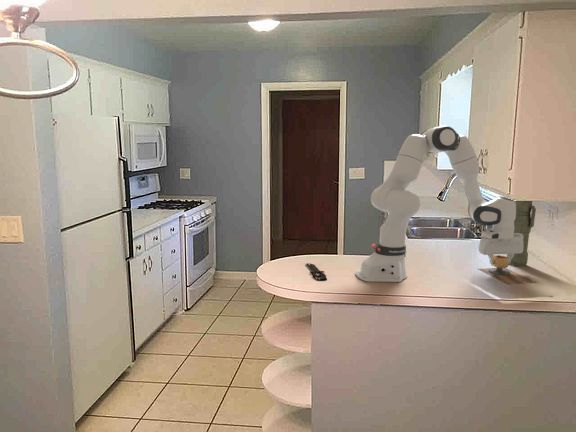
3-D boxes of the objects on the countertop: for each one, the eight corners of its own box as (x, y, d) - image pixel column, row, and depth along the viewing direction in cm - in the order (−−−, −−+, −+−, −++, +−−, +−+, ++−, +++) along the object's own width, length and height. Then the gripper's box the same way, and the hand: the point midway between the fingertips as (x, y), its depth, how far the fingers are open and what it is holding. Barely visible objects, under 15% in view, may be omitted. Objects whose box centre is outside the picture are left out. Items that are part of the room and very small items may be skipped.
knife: (304, 264, 231) (304, 261, 231) (318, 264, 232) (318, 261, 232) (313, 282, 206) (313, 278, 205) (328, 281, 206) (328, 278, 206)
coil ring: (497, 268, 212) (498, 259, 212) (488, 263, 219) (489, 255, 218) (510, 267, 214) (511, 258, 213) (501, 263, 220) (502, 254, 219)
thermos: (525, 271, 224) (533, 196, 217) (500, 265, 232) (507, 193, 226) (533, 267, 229) (541, 195, 223) (508, 262, 238) (515, 192, 232)
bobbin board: (507, 287, 200) (509, 270, 199) (477, 272, 221) (478, 256, 220) (537, 285, 203) (538, 268, 201) (504, 270, 224) (505, 255, 223)
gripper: (519, 231, 218) (515, 260, 221) (478, 232, 214) (475, 262, 217) (528, 234, 212) (525, 264, 215) (486, 235, 208) (483, 266, 211)
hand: (499, 263), depth 216 cm, fingers closed on coil ring, 6 cm apart
